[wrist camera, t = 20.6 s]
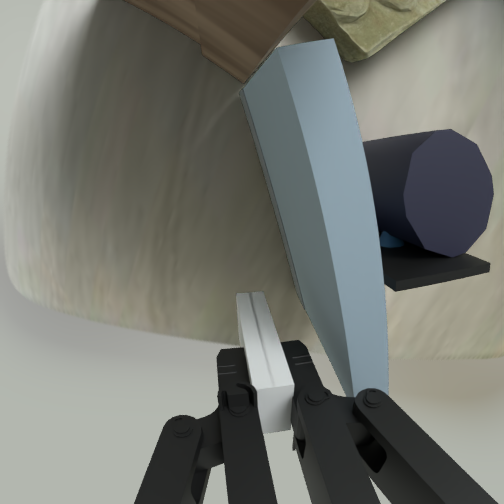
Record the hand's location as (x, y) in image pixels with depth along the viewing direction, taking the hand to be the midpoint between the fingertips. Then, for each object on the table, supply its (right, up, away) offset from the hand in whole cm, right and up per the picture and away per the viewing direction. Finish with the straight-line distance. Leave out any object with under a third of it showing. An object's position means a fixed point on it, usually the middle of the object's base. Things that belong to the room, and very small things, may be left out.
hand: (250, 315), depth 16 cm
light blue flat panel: (+2, +7, +3) cm, 7 cm away
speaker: (+7, +8, +3) cm, 11 cm away
